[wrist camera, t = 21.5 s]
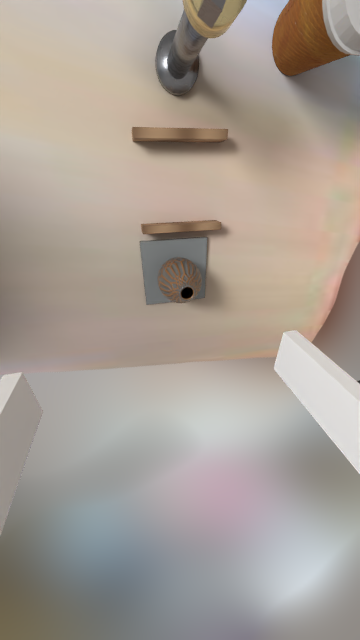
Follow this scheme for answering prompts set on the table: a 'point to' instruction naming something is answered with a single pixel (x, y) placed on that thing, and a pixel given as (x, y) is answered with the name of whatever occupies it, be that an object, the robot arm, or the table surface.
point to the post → (179, 58)
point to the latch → (212, 15)
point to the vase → (179, 280)
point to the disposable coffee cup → (315, 34)
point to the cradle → (179, 136)
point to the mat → (164, 250)
